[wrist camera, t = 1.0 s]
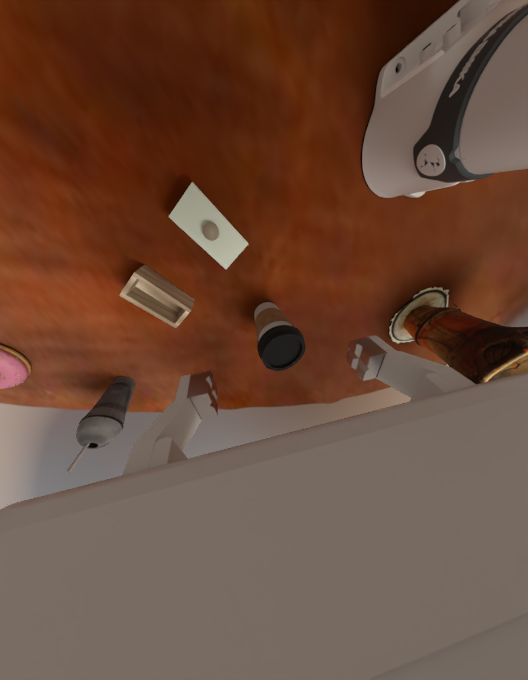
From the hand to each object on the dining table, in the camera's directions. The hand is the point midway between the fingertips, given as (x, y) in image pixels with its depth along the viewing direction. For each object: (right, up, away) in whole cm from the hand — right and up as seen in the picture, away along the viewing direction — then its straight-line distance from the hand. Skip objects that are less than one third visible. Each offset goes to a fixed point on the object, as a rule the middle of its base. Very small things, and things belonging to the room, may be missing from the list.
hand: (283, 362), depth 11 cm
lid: (-10, +20, +21) cm, 31 cm away
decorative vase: (+43, +8, +43) cm, 61 cm away
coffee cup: (-1, +7, +33) cm, 33 cm away
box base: (-21, +11, +25) cm, 34 cm away
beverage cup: (-36, -9, +36) cm, 52 cm away
